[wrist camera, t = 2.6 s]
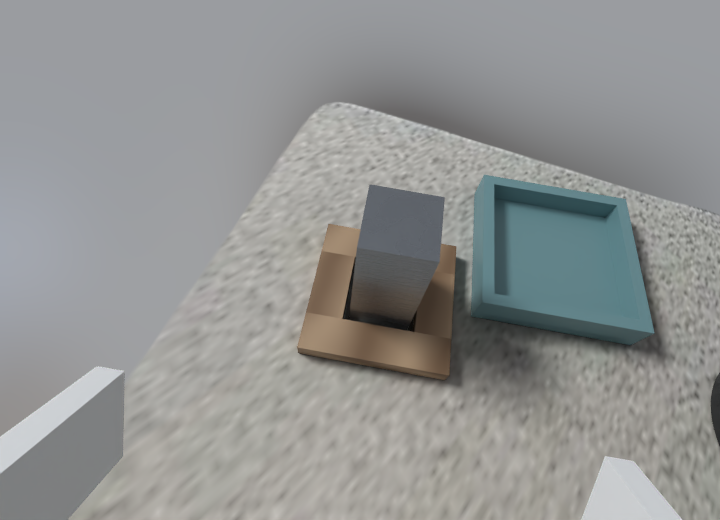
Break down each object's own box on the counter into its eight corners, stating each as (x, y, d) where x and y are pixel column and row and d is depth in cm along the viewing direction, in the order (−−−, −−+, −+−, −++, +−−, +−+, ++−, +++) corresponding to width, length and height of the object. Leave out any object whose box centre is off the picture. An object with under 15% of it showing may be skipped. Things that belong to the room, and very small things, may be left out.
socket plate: (451, 254, 39) (456, 246, 37) (444, 380, 33) (449, 375, 31) (328, 232, 39) (328, 223, 38) (298, 353, 33) (297, 347, 32)
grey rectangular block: (412, 280, 37) (444, 197, 27) (406, 331, 34) (439, 262, 24) (358, 270, 37) (369, 184, 27) (348, 321, 35) (356, 247, 24)
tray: (607, 217, 42) (625, 199, 40) (630, 345, 35) (654, 333, 33) (474, 194, 43) (484, 174, 40) (471, 316, 36) (482, 302, 33)
